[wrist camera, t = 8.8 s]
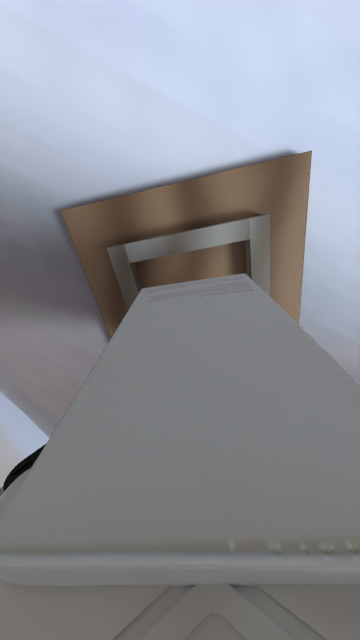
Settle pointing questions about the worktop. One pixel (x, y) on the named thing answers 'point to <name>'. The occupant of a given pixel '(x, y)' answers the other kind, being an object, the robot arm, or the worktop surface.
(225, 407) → the supplement box
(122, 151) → the worktop surface
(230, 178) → the pocket board
